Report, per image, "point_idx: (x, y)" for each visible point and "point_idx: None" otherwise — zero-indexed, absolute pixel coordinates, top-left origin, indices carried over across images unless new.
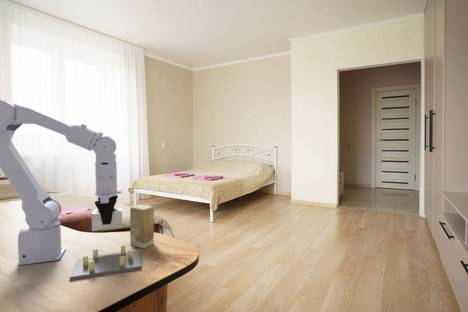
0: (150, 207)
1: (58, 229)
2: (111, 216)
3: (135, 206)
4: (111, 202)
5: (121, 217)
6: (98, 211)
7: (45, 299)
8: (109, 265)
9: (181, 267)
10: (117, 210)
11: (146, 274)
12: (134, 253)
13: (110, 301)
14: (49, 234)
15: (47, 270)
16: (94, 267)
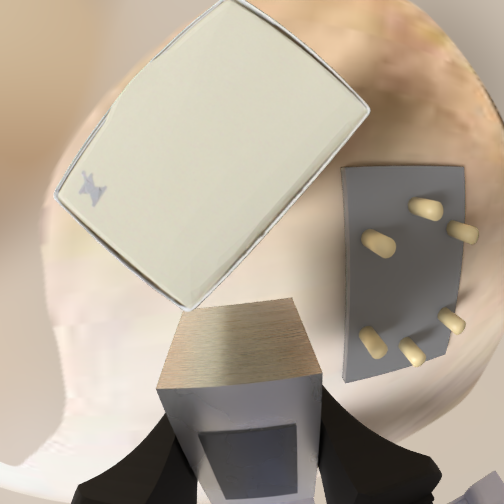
0: (269, 26)
1: (283, 502)
2: (340, 406)
3: (170, 245)
4: (435, 485)
5: (307, 338)
6: (270, 491)
7: (481, 355)
8: (431, 272)
9: (459, 53)
10: (272, 410)
11: (481, 154)
12: (365, 192)
13: None
14: (310, 500)
15: (360, 419)
16: (425, 314)
